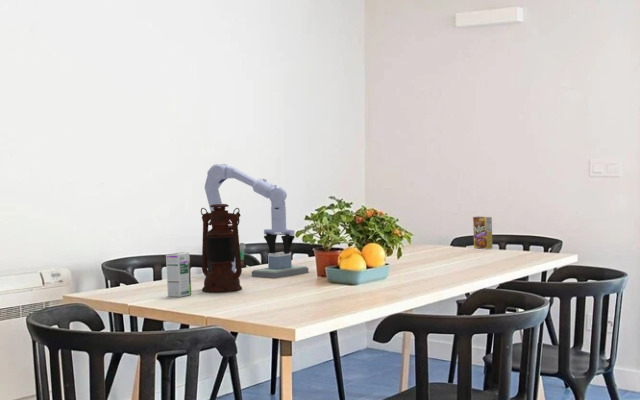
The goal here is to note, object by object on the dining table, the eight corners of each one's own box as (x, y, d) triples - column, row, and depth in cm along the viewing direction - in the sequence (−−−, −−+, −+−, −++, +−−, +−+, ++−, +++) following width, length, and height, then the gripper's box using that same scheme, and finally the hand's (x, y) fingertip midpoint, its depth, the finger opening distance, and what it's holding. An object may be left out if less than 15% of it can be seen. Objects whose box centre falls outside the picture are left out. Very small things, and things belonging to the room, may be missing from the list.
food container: (233, 269, 374) (232, 245, 374) (222, 269, 378) (221, 245, 378) (252, 266, 384) (251, 243, 384) (241, 265, 388) (241, 242, 388)
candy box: (473, 248, 436) (472, 216, 436) (479, 247, 439) (478, 216, 438) (486, 249, 429) (485, 217, 429) (492, 248, 432) (492, 216, 431)
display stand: (274, 278, 342) (274, 271, 341) (251, 276, 349) (251, 270, 349) (308, 272, 357) (308, 266, 357) (286, 270, 365) (286, 264, 364)
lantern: (190, 291, 312) (187, 205, 311) (215, 286, 324) (212, 203, 323) (229, 294, 303) (227, 205, 302) (254, 288, 315) (251, 203, 314)
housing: (291, 267, 354) (291, 252, 354) (277, 269, 348) (277, 254, 348) (282, 266, 358) (281, 251, 357) (268, 269, 351) (268, 253, 351)
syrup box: (180, 297, 299) (179, 253, 298) (167, 296, 302) (165, 253, 301) (191, 295, 304) (190, 252, 303) (178, 294, 307) (176, 251, 306)
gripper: (299, 218, 351) (300, 253, 351) (272, 217, 360) (273, 251, 360) (287, 219, 345) (288, 254, 346) (259, 218, 354) (260, 253, 355)
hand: (279, 253), depth 353 cm, fingers open, 7 cm apart
